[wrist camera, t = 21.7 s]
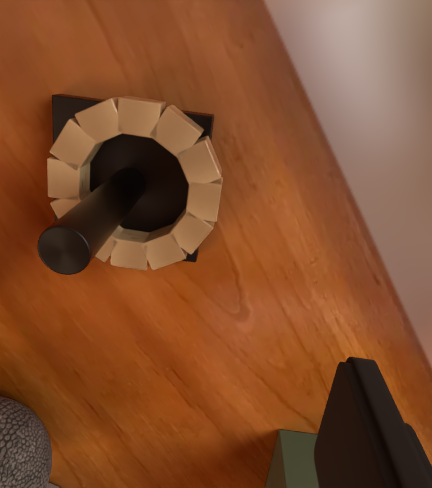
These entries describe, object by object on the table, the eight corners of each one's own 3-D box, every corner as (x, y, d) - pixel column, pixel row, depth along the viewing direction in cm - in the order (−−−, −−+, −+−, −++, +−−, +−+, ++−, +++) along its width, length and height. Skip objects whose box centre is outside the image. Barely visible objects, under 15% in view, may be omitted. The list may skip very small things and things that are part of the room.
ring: (233, 111, 23) (232, 114, 21) (209, 267, 26) (207, 280, 25) (59, 85, 23) (45, 85, 21) (60, 245, 26) (48, 256, 25)
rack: (214, 114, 24) (196, 145, 14) (197, 255, 27) (173, 364, 17) (60, 93, 24) (-75, 108, 14) (62, 237, 27) (-44, 335, 17)
